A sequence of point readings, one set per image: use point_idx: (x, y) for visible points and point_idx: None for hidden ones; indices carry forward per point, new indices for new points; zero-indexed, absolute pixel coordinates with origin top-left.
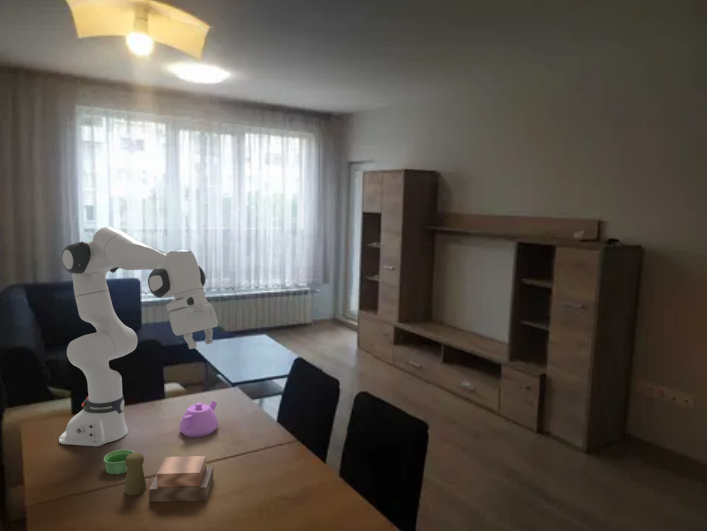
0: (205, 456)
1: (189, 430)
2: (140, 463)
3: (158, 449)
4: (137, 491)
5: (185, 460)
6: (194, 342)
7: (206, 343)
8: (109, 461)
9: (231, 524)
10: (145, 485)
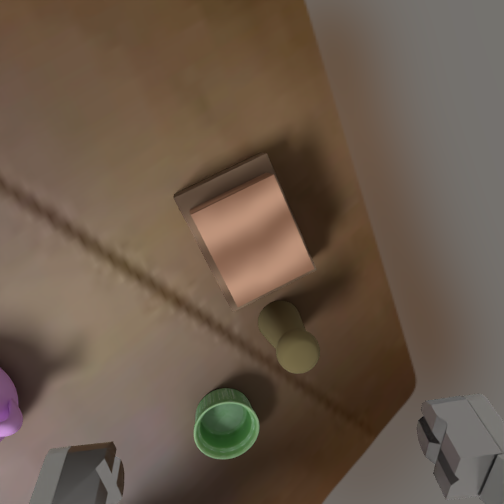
0: (194, 214)
1: (12, 398)
2: (301, 330)
3: (113, 406)
4: (293, 306)
5: (234, 249)
6: (490, 446)
7: (120, 478)
8: (229, 441)
9: (317, 43)
10: (270, 307)
